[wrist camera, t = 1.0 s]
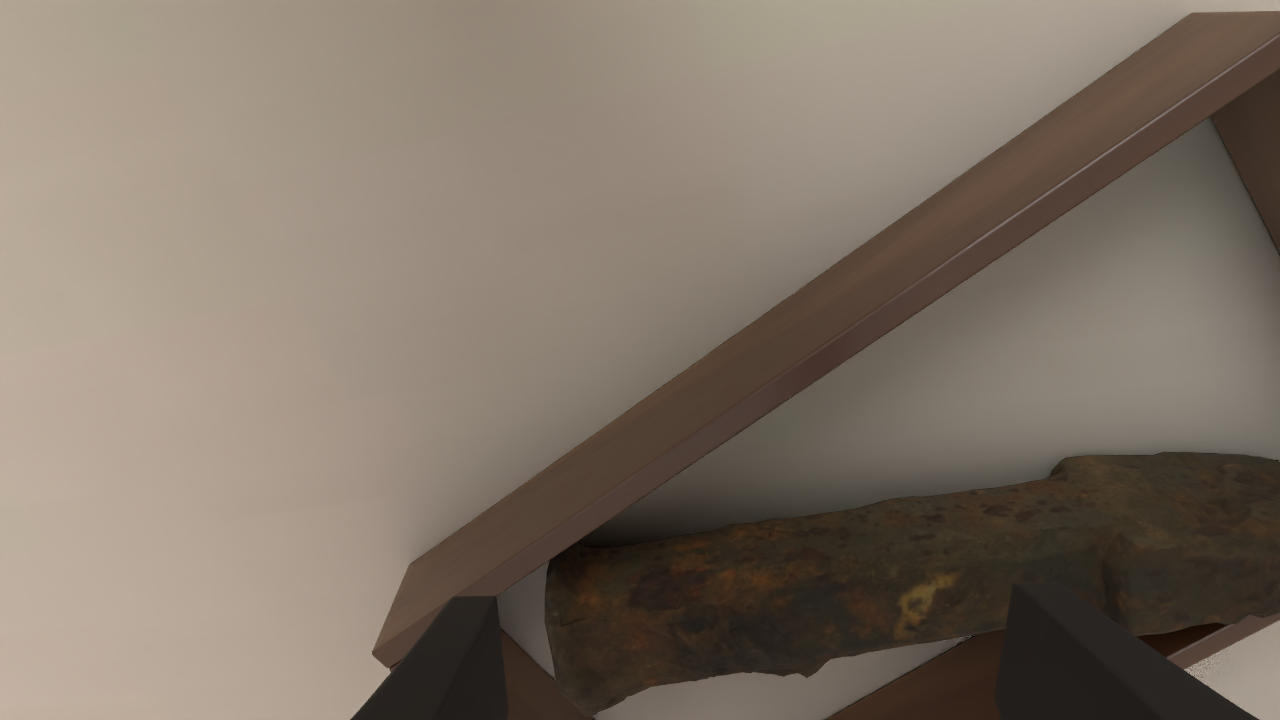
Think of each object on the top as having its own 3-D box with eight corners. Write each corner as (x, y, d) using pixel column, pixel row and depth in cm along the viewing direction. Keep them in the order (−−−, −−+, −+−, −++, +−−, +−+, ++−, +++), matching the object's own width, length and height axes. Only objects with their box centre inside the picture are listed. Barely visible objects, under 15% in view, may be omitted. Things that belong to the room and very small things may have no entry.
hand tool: (574, 635, 24) (561, 771, 20) (546, 516, 22) (525, 635, 18) (1258, 543, 23) (1403, 666, 19) (1277, 413, 21) (1440, 513, 17)
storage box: (1393, 421, 21) (1528, 493, 18) (675, 819, 27) (681, 930, 23) (1192, 11, 18) (1316, 8, 14) (407, 565, 23) (369, 654, 20)
